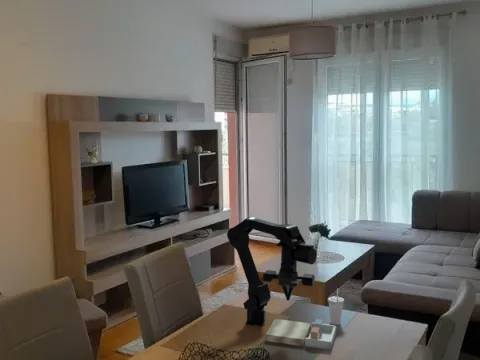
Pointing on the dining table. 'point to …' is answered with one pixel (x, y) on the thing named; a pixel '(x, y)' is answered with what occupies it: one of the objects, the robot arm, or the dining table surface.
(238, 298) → the dining table surface
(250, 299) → the robot arm
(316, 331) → the tile front
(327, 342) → the tray
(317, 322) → the tile back
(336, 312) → the smoothie
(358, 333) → the dining table surface
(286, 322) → the board
